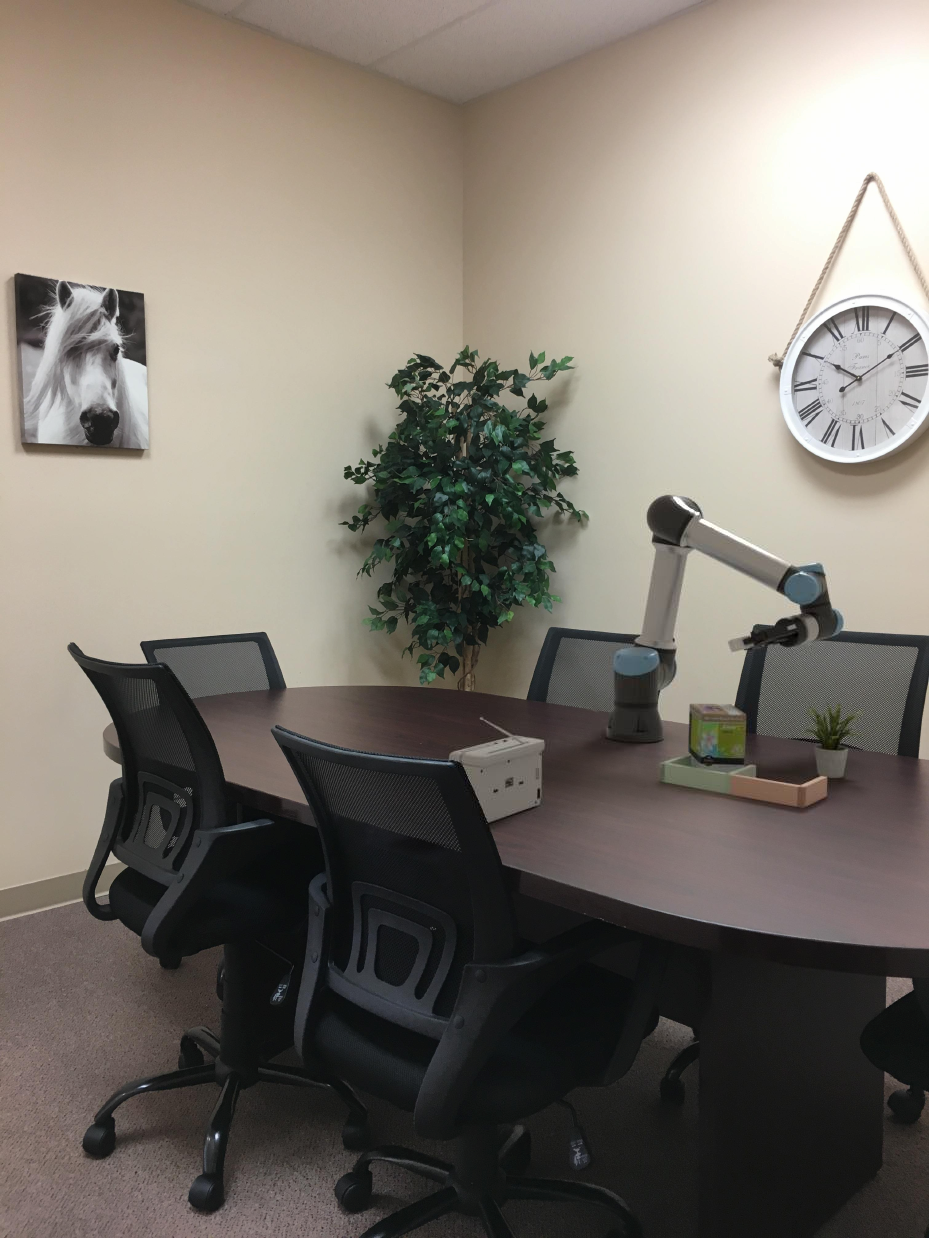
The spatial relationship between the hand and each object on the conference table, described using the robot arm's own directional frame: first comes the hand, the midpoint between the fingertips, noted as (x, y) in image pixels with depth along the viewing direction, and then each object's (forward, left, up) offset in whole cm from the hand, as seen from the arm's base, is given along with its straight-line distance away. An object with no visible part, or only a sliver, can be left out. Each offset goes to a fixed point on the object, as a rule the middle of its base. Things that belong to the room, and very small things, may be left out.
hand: (731, 645), depth 224 cm
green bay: (+7, -23, -27) cm, 36 cm away
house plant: (+25, 0, -27) cm, 37 cm away
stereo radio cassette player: (-11, -72, -28) cm, 78 cm away
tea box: (+4, -14, -28) cm, 31 cm away
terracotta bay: (+23, -24, -27) cm, 43 cm away
